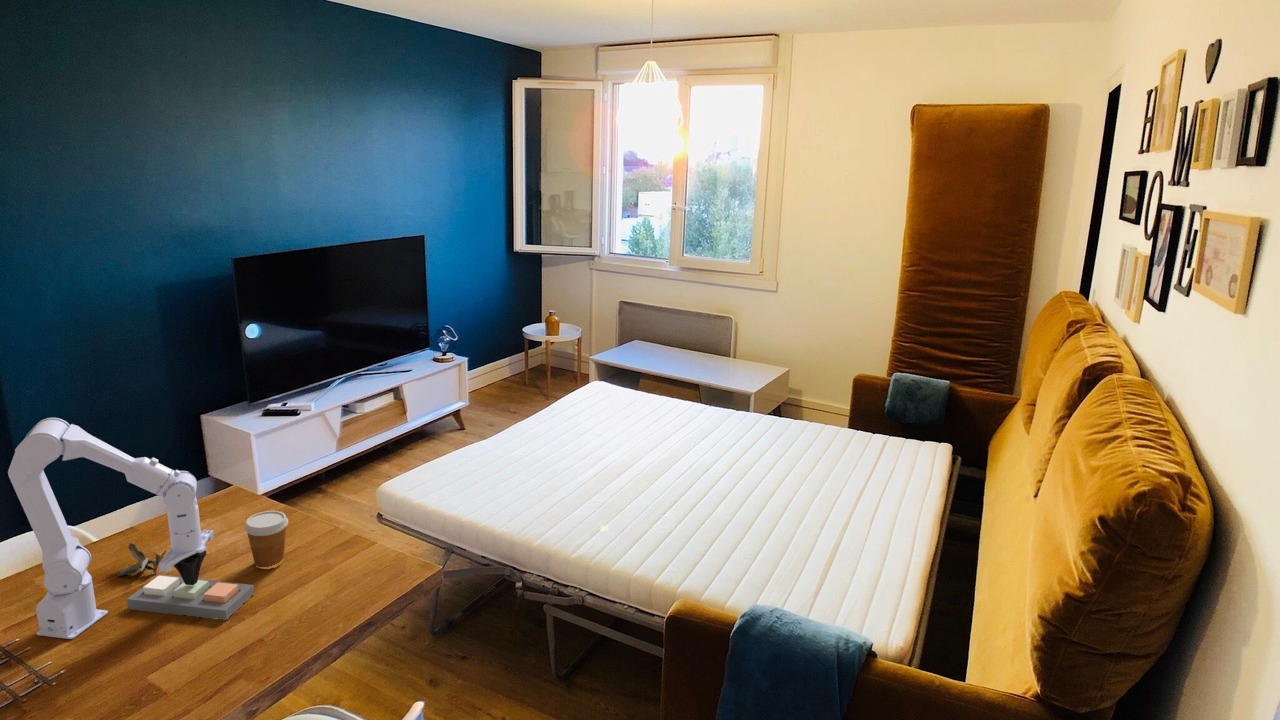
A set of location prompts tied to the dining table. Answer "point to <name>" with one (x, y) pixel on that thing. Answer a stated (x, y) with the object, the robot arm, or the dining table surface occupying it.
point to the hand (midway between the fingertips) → (191, 583)
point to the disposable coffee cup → (267, 537)
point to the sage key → (191, 590)
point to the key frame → (190, 602)
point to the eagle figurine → (140, 562)
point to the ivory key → (161, 586)
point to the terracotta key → (221, 593)
